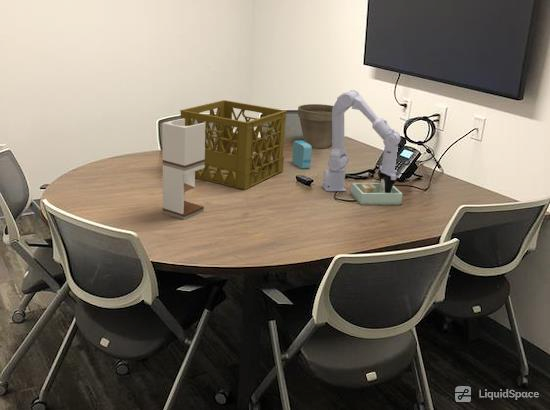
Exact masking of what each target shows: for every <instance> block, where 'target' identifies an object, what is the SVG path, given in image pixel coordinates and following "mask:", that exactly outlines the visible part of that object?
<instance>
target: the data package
mask: <svg viewBox="0 0 550 410" xmlns="http://www.w3.org/2000/svg"><path fill="white" fill-rule="evenodd" d="M312 150H313V148H312V147H311V145H310V144H308V143H306V142H304V140H294V141H293V145H292V155H291V156H292V158H291V161H292V164H294V166H296V167H298V168H299V169H301V170H302V169H303V170H305V169H306V170H307V169H310V168H311V161H312Z"/></svg>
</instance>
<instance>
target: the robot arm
mask: <svg viewBox="0 0 550 410" xmlns="http://www.w3.org/2000/svg"><path fill="white" fill-rule="evenodd" d="M332 106H333V108H332V142H331V144H332V150H331V152H330V154H329V159H328V162H327V166H328V169H324V170H323V174H322V182H321V183H322V184H321V186H322V188H323V189H324V191H325V192H346V191H347V189H346V188H345V179H346V166H347V165H348V163H349V158H348V155H347V149H346V148H345V113H346V111H348V110H349V109H350V108H351V109H352V110H357V111H360V113H362V115H364V117H365V118H366V119H367V120H368V121H370V123H372V129H373V130H374V131H375V132H376V134H377V135H378V137H380V139H381V140H383V141H382V142H383V145H384V149H383V155H382V162H381V165H379V171H378V172H377V175H378V178H379V183H381V178H384V182H385V193H390V192H391V189H392V187H393V186H395V185H394V184H395V183H396V182H397V181H398V178H397V174H396V173H398V172H397V170H395V166H396V159H397V152H398V148H399V143H401V139H402V138H401V135H400V133H399V132H398V131H396V130H395V129H393V128H392V127H391V126H390V125H389V124H388V121H387V119H384V118H381V117H379V116H377V114H376V113H375V112H374V110H373V109H372V108H371V106H370V105H369V104H368V103H367V102H366V101H365V99H364V97H363V96H362V95H360V93H359V91H357V90H349V91H347V92H342V93H341V94H340V95H339V96H338V97H337V99H336V101H335V103H334V104H333V105H332Z"/></svg>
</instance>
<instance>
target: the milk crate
mask: <svg viewBox="0 0 550 410" xmlns="http://www.w3.org/2000/svg"><path fill="white" fill-rule="evenodd" d="M215 109H217V110H216V112H215ZM234 109H237V110H240V112H239V113H238V115H236V113H235V110H234ZM208 111H209V114H205V113H203V112H208ZM245 111H249V112H255V113H261V114H262V117H259V118H255V117H252V116H251V117H250V116H246V115H245ZM179 112H180V115H179V117H180V119H183V118H184V119H185V126H192V125H195V122H197V124H200V123H205V168H203V169H200V170H197V171H195V179H198V180H199V179H200V180H203V181H208V182H212V183H215V184H221V185H224V186H228V187H230V188H231V187H232V188H236V189H240V190H246V189H248V188H250V187H253V186H254V185H257V184H259V183H261V182H263V181H265V180H268V179H269V178H271V177H274V176H275V175H277V174H279V173H281V172H283V171H284V160H285V156H284V150H285V149H284V147H285V144H286V142H285V138H286V137H285V135H286V119H287V112H288V110H284V109H278V108H272V107H266V106H260V105H254V104H249V103H243V102H237V101H231V100H224V99H223V100H219V101H218V100H217V101H214V102H210V103H206V104H201V105H197V106H193V107H189V108H184V109H180V110H179ZM241 115H242V117H243V118H244V120H245V121H243V120H239V118H240V116H241ZM232 117H233V118H232ZM211 124H212V127H211ZM266 124H267V125H266ZM263 127H264V128H266V129H264V130H262V128H263ZM235 128H236V129H235ZM215 129H216V130H215ZM234 129H235V131H234V132H233V130H234ZM259 135H260V137H259ZM232 149H233V150H232ZM231 151H232V152H231ZM261 155H262V156H261ZM271 159H272V160H271Z"/></svg>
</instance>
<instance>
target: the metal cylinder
mask: <svg viewBox="0 0 550 410" xmlns="http://www.w3.org/2000/svg"><path fill="white" fill-rule="evenodd" d="M379 183H380V182H379ZM379 193H385V182H384V178H381V183H380V190H379ZM390 193H391V192H390Z"/></svg>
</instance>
